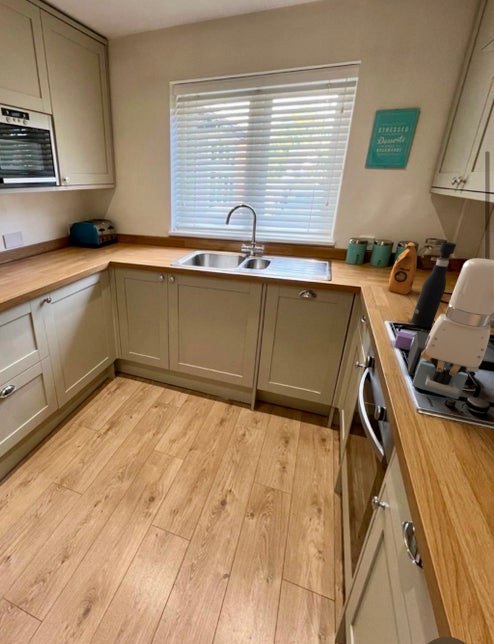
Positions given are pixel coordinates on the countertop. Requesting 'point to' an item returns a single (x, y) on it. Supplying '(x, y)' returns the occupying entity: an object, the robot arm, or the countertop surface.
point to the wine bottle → (433, 289)
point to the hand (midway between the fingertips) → (439, 384)
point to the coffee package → (404, 271)
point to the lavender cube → (403, 340)
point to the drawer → (425, 381)
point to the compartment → (416, 350)
